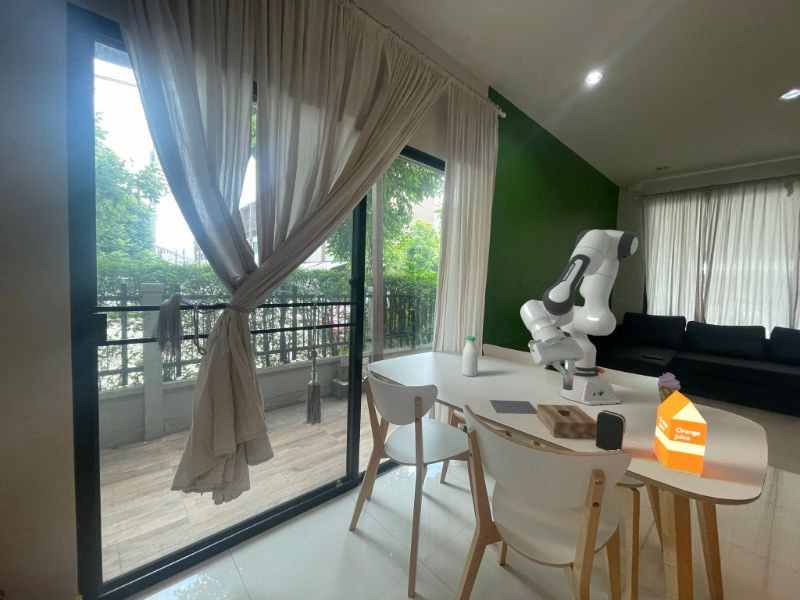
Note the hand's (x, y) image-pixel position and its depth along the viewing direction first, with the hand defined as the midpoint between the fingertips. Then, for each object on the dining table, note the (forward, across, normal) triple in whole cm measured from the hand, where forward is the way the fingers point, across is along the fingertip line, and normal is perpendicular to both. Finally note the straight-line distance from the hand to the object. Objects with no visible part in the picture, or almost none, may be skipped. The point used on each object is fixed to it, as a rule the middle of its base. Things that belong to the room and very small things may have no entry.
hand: (570, 373), depth 107 cm
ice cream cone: (+16, +50, +12) cm, 54 cm away
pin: (+4, 0, +4) cm, 6 cm away
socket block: (+13, 0, +14) cm, 19 cm away
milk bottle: (-29, +1, +56) cm, 63 cm away
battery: (+24, +1, +4) cm, 24 cm away
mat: (0, -6, +27) cm, 28 cm away
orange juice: (+32, +11, -5) cm, 34 cm away
